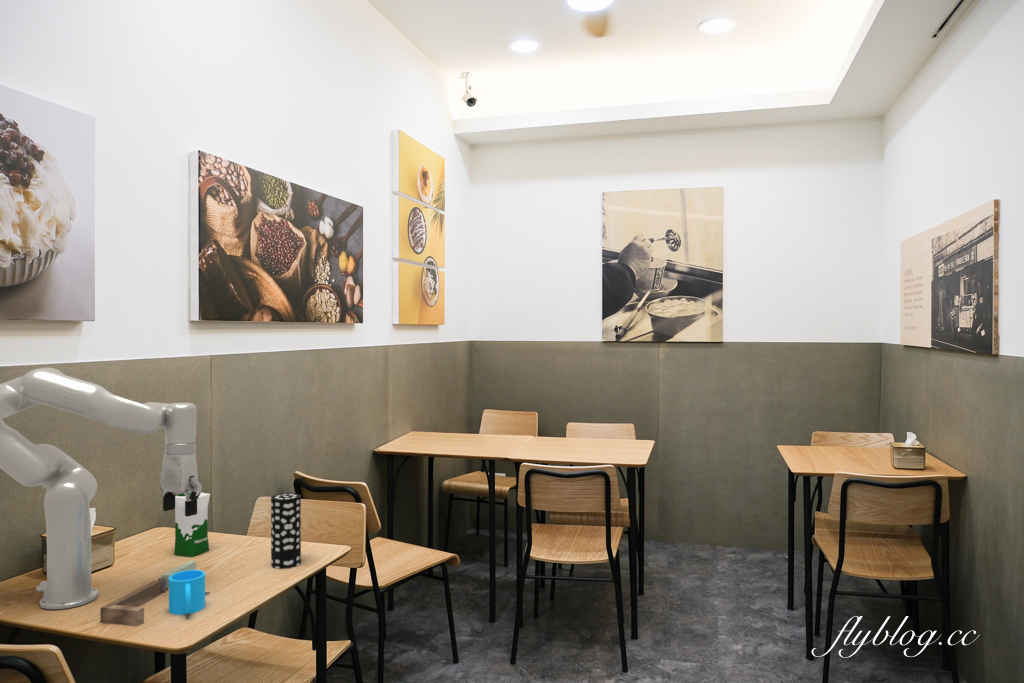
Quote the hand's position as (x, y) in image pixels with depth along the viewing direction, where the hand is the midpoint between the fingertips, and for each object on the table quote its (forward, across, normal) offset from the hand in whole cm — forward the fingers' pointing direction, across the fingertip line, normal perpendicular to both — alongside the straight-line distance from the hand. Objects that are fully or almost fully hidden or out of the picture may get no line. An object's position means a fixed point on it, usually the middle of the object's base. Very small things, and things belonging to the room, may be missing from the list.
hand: (179, 512), depth 184 cm
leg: (+20, -3, +2) cm, 20 cm away
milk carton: (+20, -24, +19) cm, 37 cm away
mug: (+20, +16, -8) cm, 27 cm away
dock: (+20, +8, -11) cm, 24 cm away
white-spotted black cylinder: (+20, +10, +28) cm, 35 cm away
